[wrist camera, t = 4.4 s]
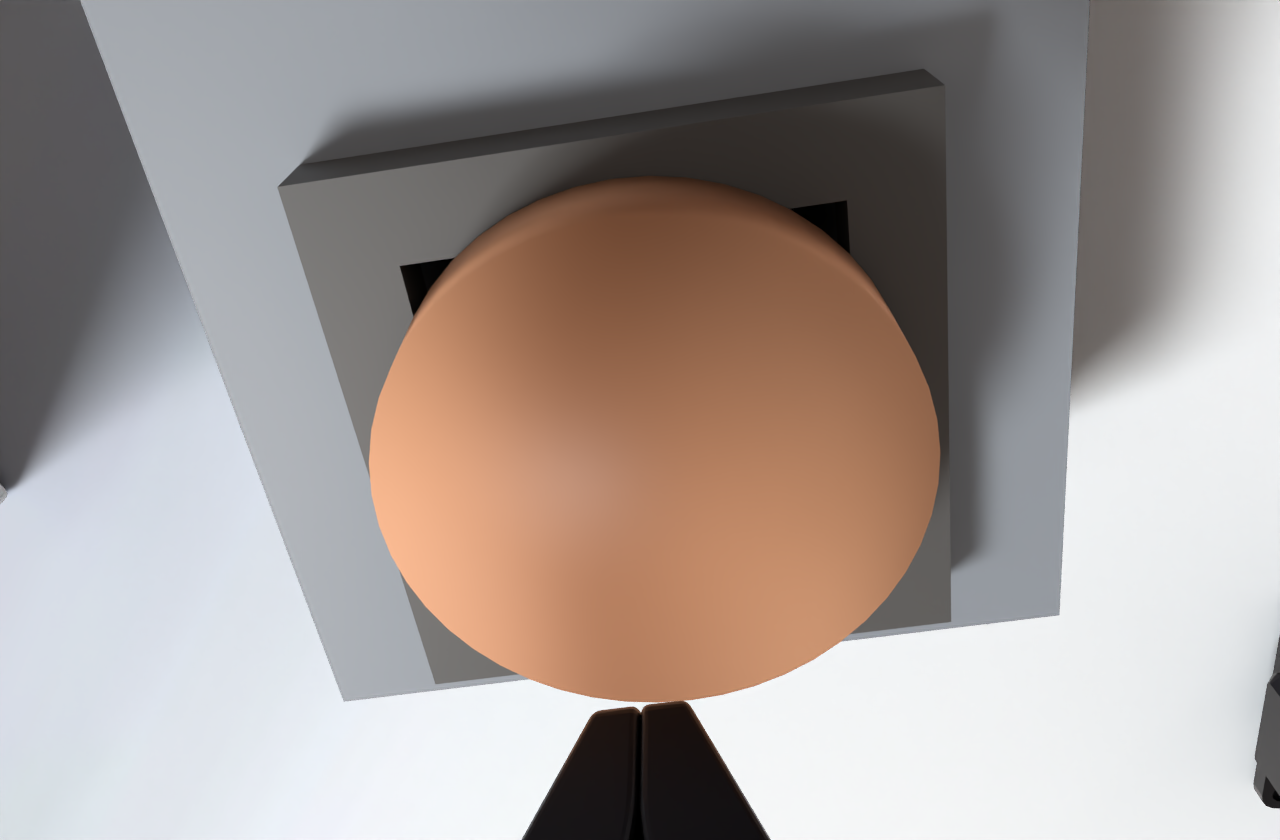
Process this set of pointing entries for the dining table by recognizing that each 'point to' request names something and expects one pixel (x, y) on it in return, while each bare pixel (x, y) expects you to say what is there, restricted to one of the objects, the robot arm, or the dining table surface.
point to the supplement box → (2, 494)
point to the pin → (653, 442)
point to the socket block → (592, 152)
